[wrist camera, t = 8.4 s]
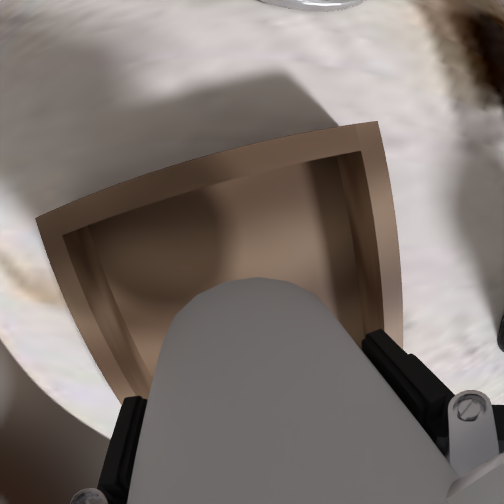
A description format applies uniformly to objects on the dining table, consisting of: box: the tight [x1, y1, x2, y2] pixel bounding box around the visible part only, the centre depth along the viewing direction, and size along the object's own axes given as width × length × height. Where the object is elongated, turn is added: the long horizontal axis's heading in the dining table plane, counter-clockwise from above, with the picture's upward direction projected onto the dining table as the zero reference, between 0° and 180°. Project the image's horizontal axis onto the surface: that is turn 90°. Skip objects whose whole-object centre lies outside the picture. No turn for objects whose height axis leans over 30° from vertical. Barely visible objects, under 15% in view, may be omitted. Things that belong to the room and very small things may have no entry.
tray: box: [35, 121, 403, 405], centre depth 16 cm, size 16×16×4 cm
